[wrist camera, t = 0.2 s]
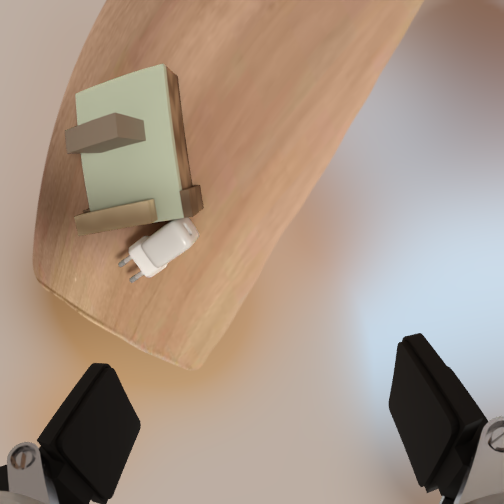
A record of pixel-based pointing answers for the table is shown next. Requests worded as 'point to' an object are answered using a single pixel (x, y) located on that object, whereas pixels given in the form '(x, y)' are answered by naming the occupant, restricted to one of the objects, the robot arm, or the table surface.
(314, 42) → the table surface
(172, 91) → the brown wooden open box
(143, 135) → the lid
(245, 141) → the table surface
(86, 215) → the tan rectangular block
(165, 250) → the power adapter
